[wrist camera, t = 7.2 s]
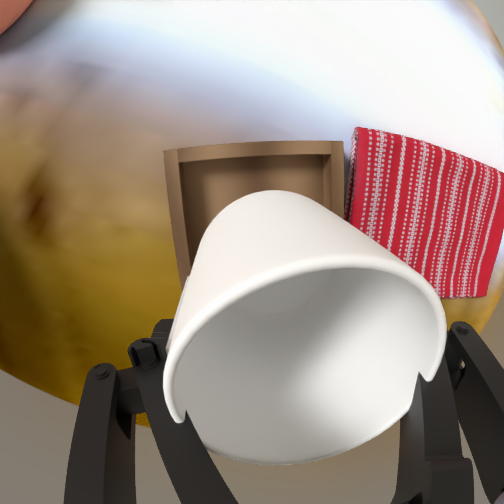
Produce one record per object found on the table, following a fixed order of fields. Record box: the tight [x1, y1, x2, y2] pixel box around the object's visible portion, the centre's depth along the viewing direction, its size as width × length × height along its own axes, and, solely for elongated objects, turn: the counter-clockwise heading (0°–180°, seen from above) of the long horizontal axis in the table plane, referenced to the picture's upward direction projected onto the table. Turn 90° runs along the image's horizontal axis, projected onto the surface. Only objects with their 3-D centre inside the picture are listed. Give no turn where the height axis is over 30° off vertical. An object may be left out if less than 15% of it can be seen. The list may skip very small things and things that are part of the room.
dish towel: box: [344, 127, 504, 299], centre depth 25 cm, size 17×24×3 cm
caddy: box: [163, 141, 344, 292], centre depth 26 cm, size 13×33×3 cm, turn 3°
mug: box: [163, 190, 447, 465], centre depth 12 cm, size 12×8×10 cm
